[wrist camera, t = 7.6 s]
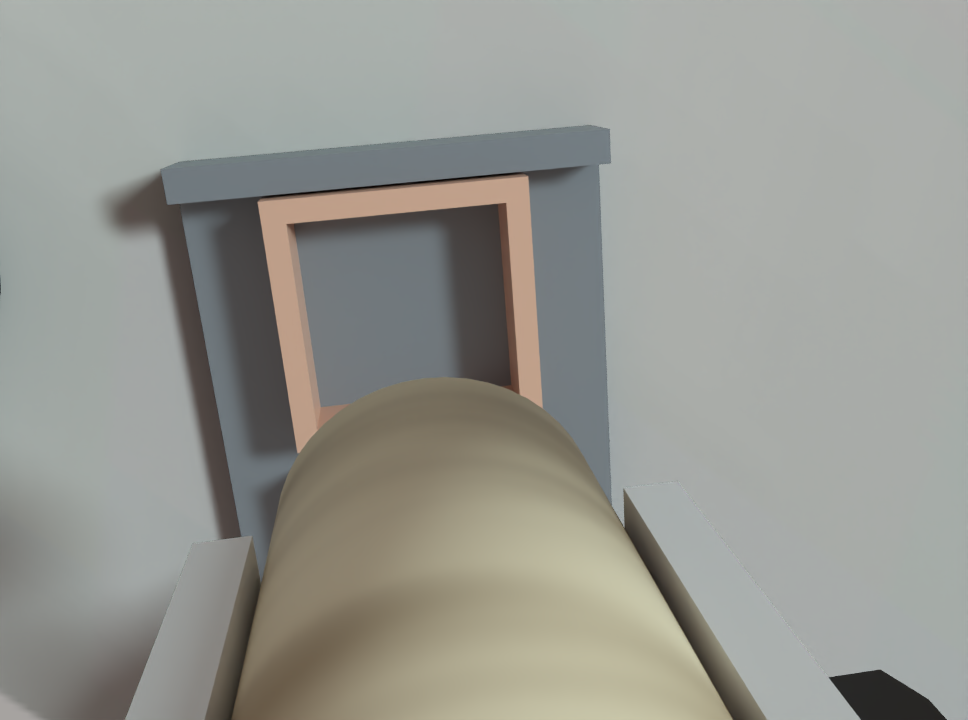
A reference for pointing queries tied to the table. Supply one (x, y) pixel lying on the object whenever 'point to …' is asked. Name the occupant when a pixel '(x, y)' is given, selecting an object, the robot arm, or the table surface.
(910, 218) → the table surface
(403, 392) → the cream pawn-shaped knob
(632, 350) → the table surface
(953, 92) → the table surface
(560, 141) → the housing
